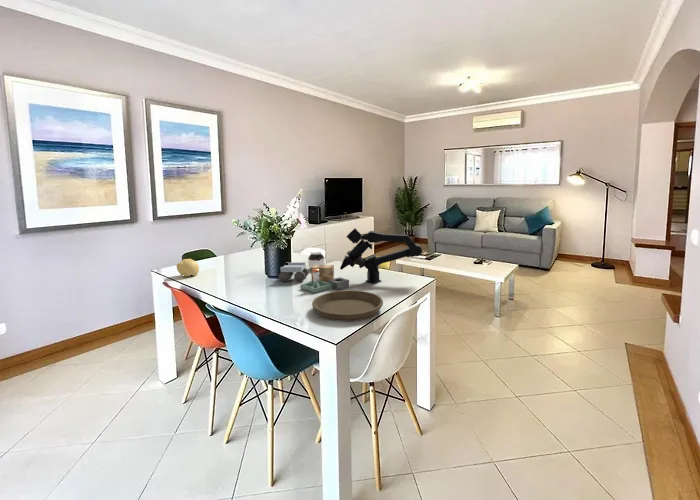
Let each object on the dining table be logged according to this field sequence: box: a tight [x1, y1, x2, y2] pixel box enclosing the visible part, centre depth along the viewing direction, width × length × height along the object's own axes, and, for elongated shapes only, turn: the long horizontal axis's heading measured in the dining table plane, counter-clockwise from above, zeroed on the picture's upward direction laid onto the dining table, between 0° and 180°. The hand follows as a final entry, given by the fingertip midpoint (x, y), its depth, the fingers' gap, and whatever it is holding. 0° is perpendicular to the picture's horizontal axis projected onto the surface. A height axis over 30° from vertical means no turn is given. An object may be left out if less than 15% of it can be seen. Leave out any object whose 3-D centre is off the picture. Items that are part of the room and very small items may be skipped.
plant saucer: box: [311, 289, 384, 322], centre depth 162 cm, size 31×31×5 cm
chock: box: [310, 264, 335, 283], centre depth 208 cm, size 12×6×9 cm, turn 86°
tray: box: [300, 280, 334, 295], centre depth 195 cm, size 12×12×2 cm
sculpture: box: [176, 258, 200, 278], centre depth 229 cm, size 12×12×11 cm
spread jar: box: [307, 249, 326, 270], centre depth 236 cm, size 12×11×12 cm
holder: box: [328, 276, 350, 291], centre depth 197 cm, size 8×8×4 cm
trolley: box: [278, 262, 309, 283], centre depth 214 cm, size 15×12×9 cm
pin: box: [312, 269, 320, 288], centre depth 194 cm, size 4×4×10 cm
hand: (340, 269), depth 207 cm, fingers closed
